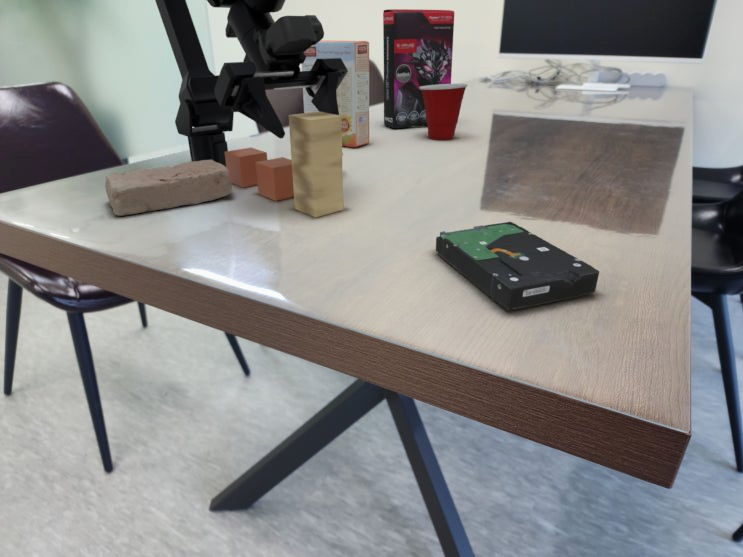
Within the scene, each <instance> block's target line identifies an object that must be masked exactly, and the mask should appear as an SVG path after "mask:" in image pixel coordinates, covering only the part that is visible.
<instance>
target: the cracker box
mask: <svg viewBox="0 0 743 557" xmlns="http://www.w3.org/2000/svg"><path fill="white" fill-rule="evenodd" d="M304 54H305V56H306V59H305V61H304V63H303V64H301V71H310V70H311V69H312V67H313V65H314V63H315V61H316V59H320V58H341V59H342V61H343V63H344V65H345V66H346V68H347V70H348V72H347V74H346V75H345V77H344V78H343V80H342V82H341V83H340V85H339V87H338V88H337V90H336V92H337V104H338V110H339V115H340V116H341V126H342V147H349V148H357V147H361V146H365V145H368V144H370V42H369V41H368V40H333V39H331V40H325V39H324V40H323V39H322V40H320V41H319V42H318V43H317V44H315V45H312V46H311V47H309V48H308V49H307V50H306V51H305V52H304ZM302 96H303V98H302V99H303V113H310V112H318V109H317V108H316V107H315V106H314V105H313V103H312V102H311V101H312V99H313V97H311V96H309V95H308V93H307V91H306V87H305V88H302Z"/></svg>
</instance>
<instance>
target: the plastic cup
mask: <svg viewBox="0 0 743 557" xmlns="http://www.w3.org/2000/svg"><path fill="white" fill-rule="evenodd" d="M467 87H468V83H451V84H438V85H427V86H421V87H420V89H421V91H422V94H423V98H424V103H425V112H426V120H427V125H426V126H427V134H428V138H429V139H431V140H438V141H448V140H452V139H454V136H455V133H456V128H457V124H458V121H459V117H460V112H461V108H462V104H463V99H464V95H465V91H466V89H467Z"/></svg>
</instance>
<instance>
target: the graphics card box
mask: <svg viewBox="0 0 743 557" xmlns="http://www.w3.org/2000/svg"><path fill="white" fill-rule="evenodd" d="M455 13H456V12H455V10H452V9H451V10H450V9H414V8H413V9H412V8H411V9H404V8H403V9H401V8H400V9H397V8H394V9H393V8H391V9H384V10H383V12H382V26H383V27H382V29H383V31H382V32H383V40H382V41H383V125H384V126H385V127H389V128H390V129H391V128H392V129H404V128H412V127H414V128H415V127H422V126H423V127H424V126H427V120H426V112H425V103H424V98H423V94H422V91H421V89H420V87H421V86H427V85H438V84H452V72H453V71H452V69H453V53H454V52H453V50H454V29H455Z"/></svg>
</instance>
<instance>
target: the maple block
mask: <svg viewBox="0 0 743 557" xmlns="http://www.w3.org/2000/svg"><path fill="white" fill-rule="evenodd" d="M288 129H289V130H288V131H289V142H290V143H289V144H290V145H289V146H290V158H291V159H290V160H292V174H293V189H294V197H293V200H294V201H293V202H294V210H297V211H299V212H301V213H304V214H306V215H308V216H311V217H313V218H316V219H317V218H319V217H322V216H326V215H327V216H328V215H330V214H333V213H337V212H341V211H344V179H343V178H344V176H343V175H344V174H343V170H344V169H343V156H342V152H343V146H342V126H341V116H340V115H335V114H330V113H324V112H319V111H318V112H310V113H304V112H302V113H293V114H288Z"/></svg>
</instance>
